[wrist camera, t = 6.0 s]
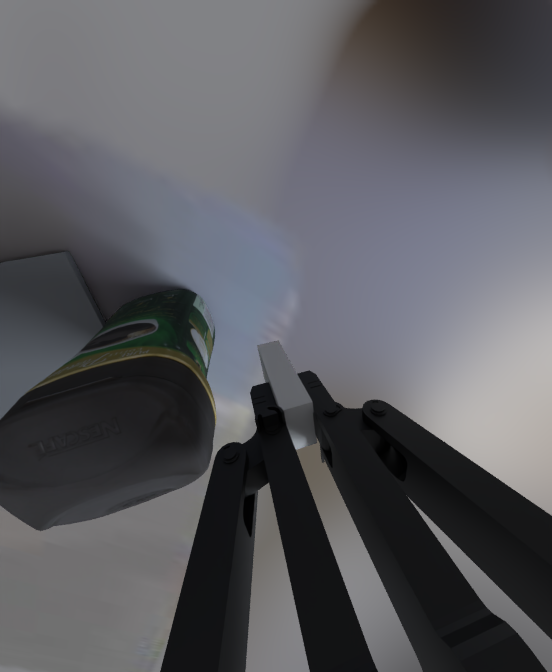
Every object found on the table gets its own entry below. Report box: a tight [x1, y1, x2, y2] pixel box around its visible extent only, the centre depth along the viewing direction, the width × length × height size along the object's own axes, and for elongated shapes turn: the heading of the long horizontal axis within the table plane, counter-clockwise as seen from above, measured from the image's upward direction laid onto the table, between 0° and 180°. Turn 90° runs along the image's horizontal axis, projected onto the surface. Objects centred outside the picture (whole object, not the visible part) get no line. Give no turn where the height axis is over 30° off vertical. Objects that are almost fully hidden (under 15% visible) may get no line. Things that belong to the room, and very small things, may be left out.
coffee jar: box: [0, 290, 216, 531], centre depth 18 cm, size 10×8×19 cm
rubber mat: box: [0, 251, 106, 420], centre depth 24 cm, size 18×20×1 cm
